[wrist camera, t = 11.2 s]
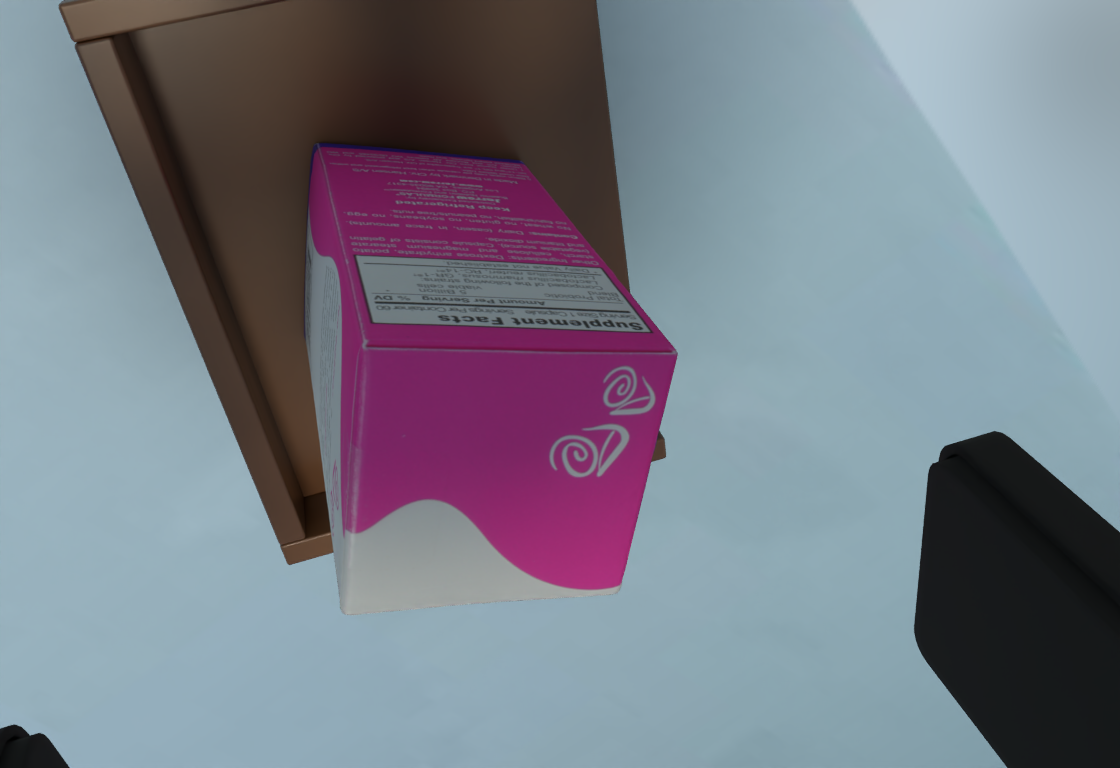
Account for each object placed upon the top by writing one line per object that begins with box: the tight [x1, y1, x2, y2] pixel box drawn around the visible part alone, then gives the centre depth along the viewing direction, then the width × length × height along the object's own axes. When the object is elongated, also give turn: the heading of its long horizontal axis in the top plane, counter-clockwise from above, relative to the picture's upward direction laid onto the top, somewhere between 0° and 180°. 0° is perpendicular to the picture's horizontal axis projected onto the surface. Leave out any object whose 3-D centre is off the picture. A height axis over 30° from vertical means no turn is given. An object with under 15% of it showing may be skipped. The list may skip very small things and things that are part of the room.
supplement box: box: [304, 143, 678, 615], centre depth 22 cm, size 6×6×12 cm
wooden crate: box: [59, 0, 666, 565], centre depth 29 cm, size 12×16×10 cm
